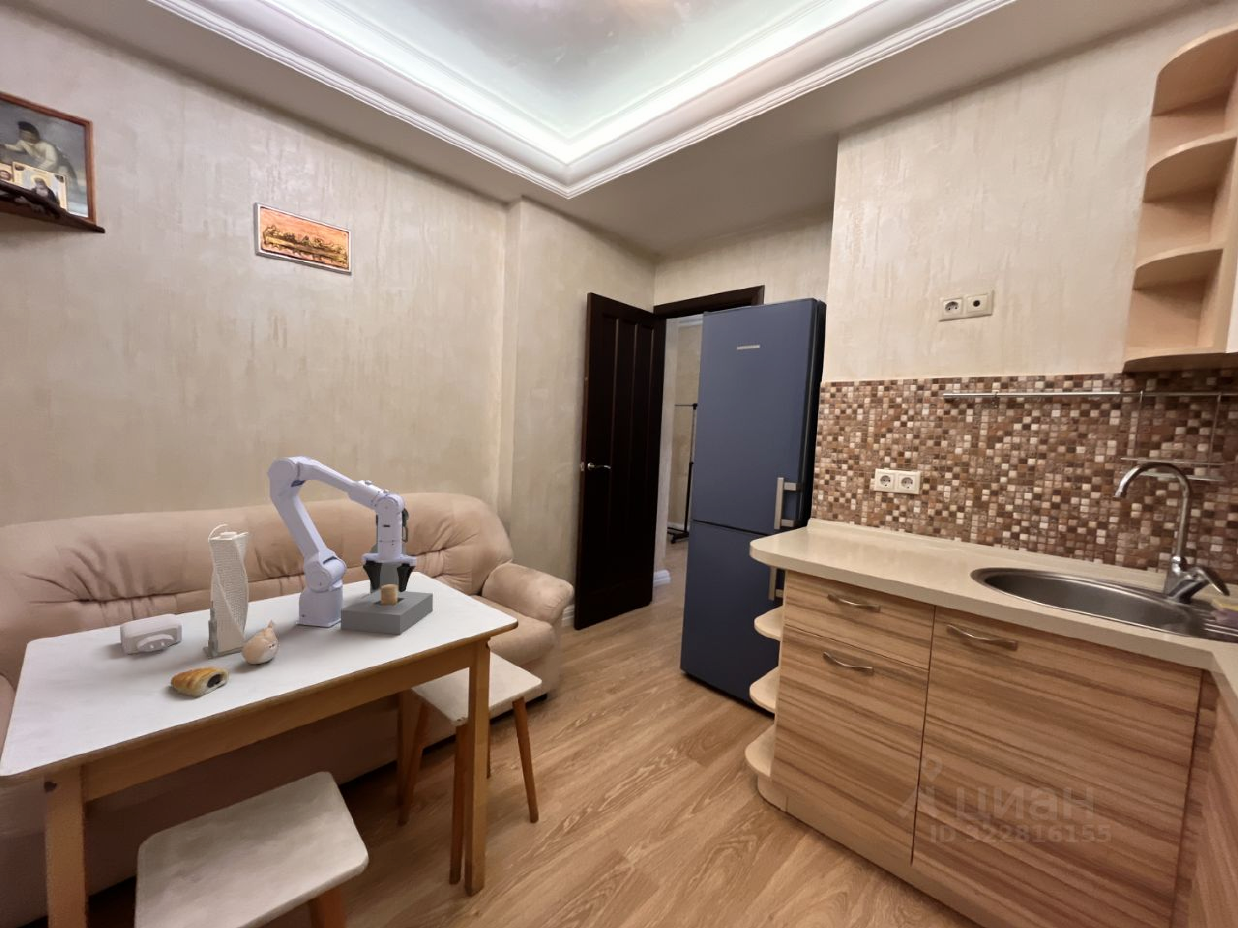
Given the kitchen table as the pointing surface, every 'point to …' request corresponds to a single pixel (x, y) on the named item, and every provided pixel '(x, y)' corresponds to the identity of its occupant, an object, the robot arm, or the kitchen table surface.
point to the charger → (150, 633)
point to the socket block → (386, 613)
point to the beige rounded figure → (261, 646)
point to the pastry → (199, 681)
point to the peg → (389, 594)
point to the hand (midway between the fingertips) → (389, 589)
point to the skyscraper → (227, 594)
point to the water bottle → (388, 569)
